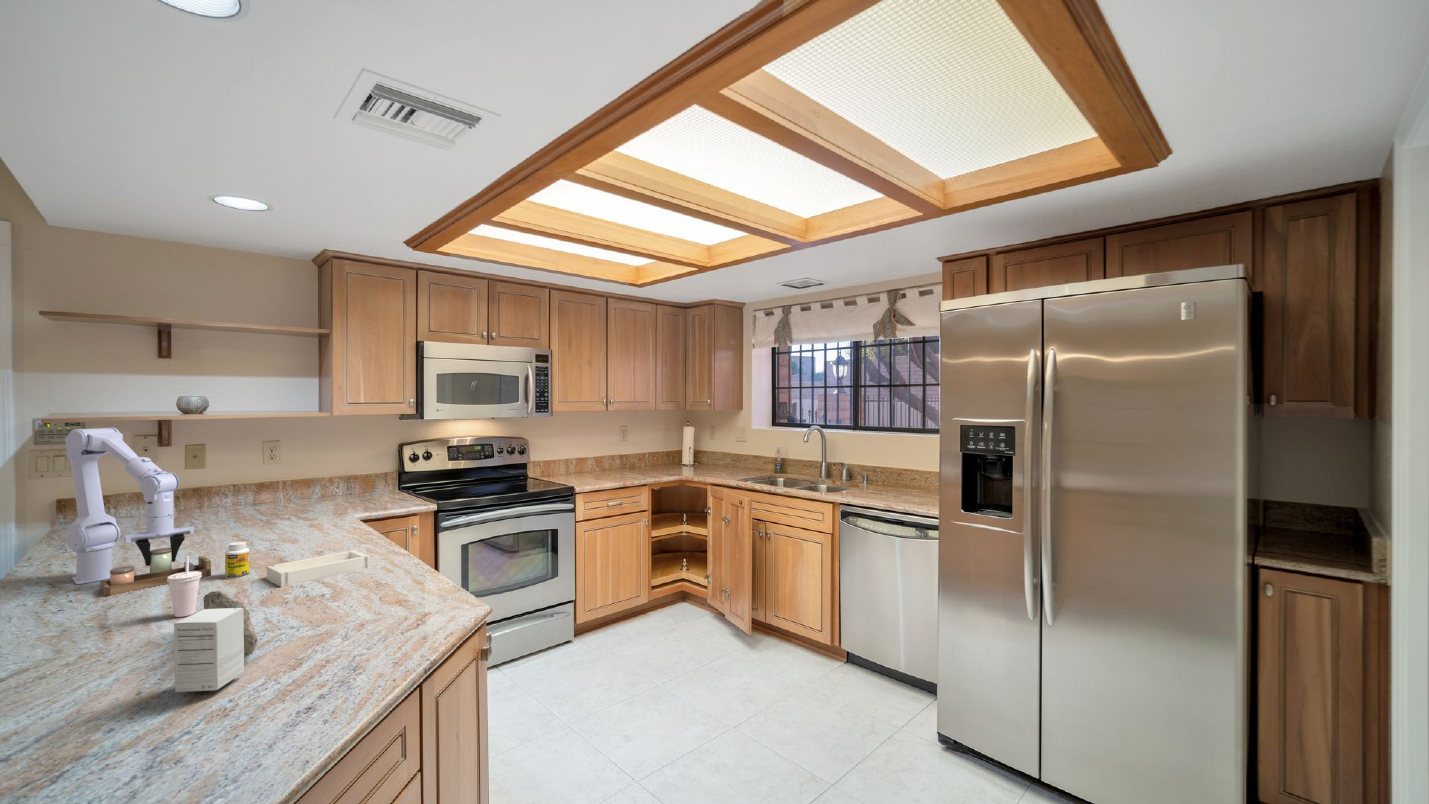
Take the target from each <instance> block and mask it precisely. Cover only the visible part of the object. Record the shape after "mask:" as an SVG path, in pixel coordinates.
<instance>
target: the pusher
mask: <svg viewBox="0 0 1429 804" xmlns="http://www.w3.org/2000/svg"><path fill="white" fill-rule="evenodd" d="M194 565H195V564H194V563H191V562H190V561H189V572H190V571H196V567H194ZM183 567H184V572H186V561H184V562H183Z"/></svg>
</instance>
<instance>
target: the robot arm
mask: <svg viewBox="0 0 1429 804" xmlns="http://www.w3.org/2000/svg"><path fill="white" fill-rule="evenodd" d="M64 443H65V448H66V454H67V459H69V464H70V470H71V476H72V484H73V489H74V495H75V501H76V508H77V514H78V518H77V519H75V520H74V521H73V522H72V523H71V524H69V525H67V530H68V532H67V533H68V534H67V537H66V544H67V546H68V547H69V549H71V550H72V552H76V554H75V555H76V558H75V560H76V563H75V564H76V568H75V569H76V576H72V577H71V579H72V581H73V582H74V583H75V584H76V585H82V584H83V585H84V584H87V583H93V582H94V583H95V582H100V581H106V580H110V570H111V569H113V547H115V546H116V543H117V542H118V541H119V540H120V537H121V533H122V531H121V529H120V527H119V525H118V524H117V520H116V517H114V516H112V515H109V514H107V513H106V511H105V505H104V498H103V492H102V486H101V478H100V473H99V466H98V461H99V460H100V459H101V457H104V456H106V455H107V454H109V455H111V456H112V457H113V458H115V459H116V460H118V461H119V462H120V463H122V464H123V465H125V467H124V471H125V472H126V474H128V475H129V476H130V477H132V478H133V479H134V480H135V481H136V482H138V483H139V484H140V485H139V490H140V492H141V493H142V495H143V500H144V502H146V503H145V505H146V508H145V509H146V512H145V515H146V523H145V524H146V526H145V527H146V529H145V530H146V531H144V532H139V533H133V534H125V535H124V539H123V542H124V543H125V544H130V543H133V542H134V543H135V544H136V546H137V547H138V549H139V551H140V552H141V555H142V557H143V560H144V564H145V566H146V567H150V551H151V542H150V540H155V539H156V540H157V539H163V538H169V543H170V548H172V563H175V562H176V561H177V560H176V558H177V555H178V552H179V549H180V547H181V546H182V544H183V542H184V541H185V538H186V537H185V535H193V534H195V527H194V526H183V527H176V528H175V527H174V526H175V524H174V523H175V521H174V520H175V519H174V513H175V510H174V509H175V508H174V506H175V505H174V501H175V500H174V499H175V498H174V497H175V496H174V492H176V491H177V490H178V489H179V487H180V479H179V478H178V475H176V473H174V472H172V471H171V472H170V471H169V472H167V471H165V470H164V471H163V469H161V468H160V467H159V466H157V464H155V463H154V462H152V459H151V458H149V457H146V456H145V457H144V456H141V457H140V456H138V455H137V454H136V452H135V451H134V450H133V449H132V448H130V447H129V446H128V444H127V443H126V442H125V441H124V435H123V433H121V432H120V431H119V430H118V429H117V428H115V427H113V426H112V427H111V426H109V427H104V428H103V427H101V428H99V427H97V428H96V427H95V428H74V429H72V430H70V432H69V433H68V434H67V435H66V437H65V438H64Z"/></svg>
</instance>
